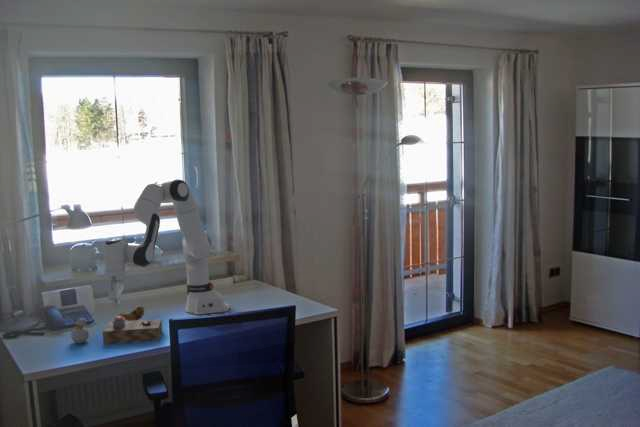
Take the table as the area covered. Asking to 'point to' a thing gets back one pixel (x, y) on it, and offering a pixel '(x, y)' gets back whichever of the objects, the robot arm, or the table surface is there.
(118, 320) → the grey rounded cylinder
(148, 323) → the grey button
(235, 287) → the table surface
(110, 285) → the robot arm
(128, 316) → the lion figurine
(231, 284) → the table surface
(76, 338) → the perfume bottle
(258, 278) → the table surface
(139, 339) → the brown wooden block
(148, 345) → the table surface
